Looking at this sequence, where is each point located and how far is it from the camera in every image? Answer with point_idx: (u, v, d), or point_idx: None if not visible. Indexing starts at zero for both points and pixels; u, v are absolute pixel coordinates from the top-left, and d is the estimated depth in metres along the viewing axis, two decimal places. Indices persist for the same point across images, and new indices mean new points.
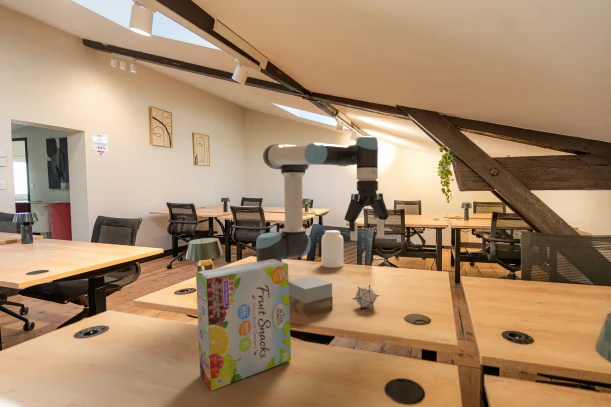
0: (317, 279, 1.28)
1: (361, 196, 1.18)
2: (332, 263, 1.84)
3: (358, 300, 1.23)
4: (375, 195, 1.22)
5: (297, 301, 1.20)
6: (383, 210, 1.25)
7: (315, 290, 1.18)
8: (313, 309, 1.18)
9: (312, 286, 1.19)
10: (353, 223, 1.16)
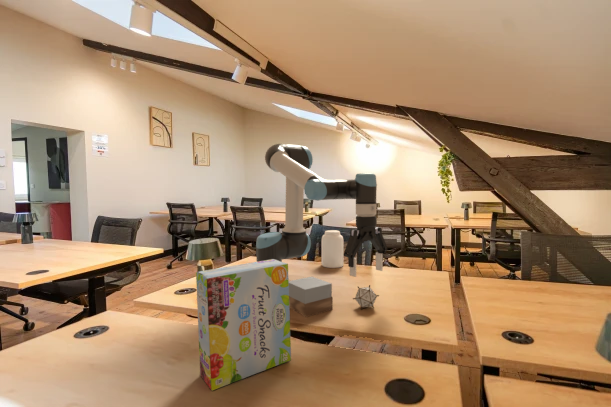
0: (317, 279, 1.27)
1: (360, 232, 1.20)
2: (332, 263, 1.84)
3: (358, 300, 1.23)
4: (374, 230, 1.24)
5: (297, 301, 1.20)
6: (382, 244, 1.27)
7: (315, 290, 1.18)
8: (313, 310, 1.18)
9: (312, 286, 1.19)
10: (352, 259, 1.18)
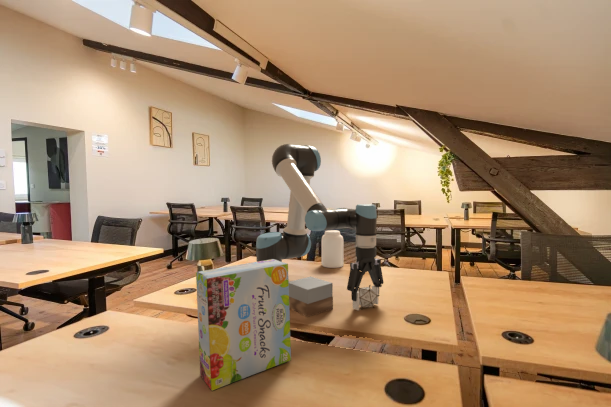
0: (316, 279, 1.28)
1: (360, 263, 1.21)
2: (332, 263, 1.84)
3: None
4: (373, 260, 1.24)
5: (298, 301, 1.20)
6: (379, 276, 1.27)
7: (317, 290, 1.18)
8: (314, 309, 1.18)
9: (314, 286, 1.19)
10: (356, 293, 1.20)
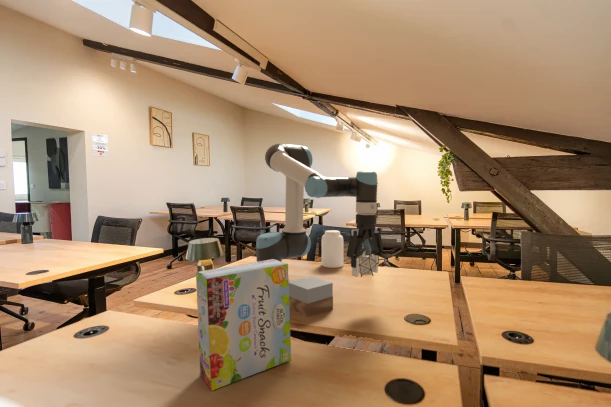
0: (317, 279, 1.28)
1: (360, 230, 1.20)
2: (332, 263, 1.84)
3: None
4: (373, 228, 1.24)
5: (298, 301, 1.20)
6: (378, 245, 1.27)
7: (317, 290, 1.18)
8: (314, 309, 1.18)
9: (314, 286, 1.19)
10: (355, 259, 1.20)
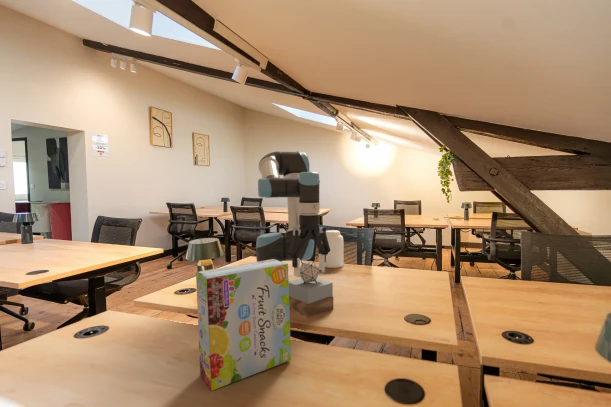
0: (316, 279, 1.28)
1: (302, 231, 1.20)
2: (332, 263, 1.84)
3: (301, 275, 1.22)
4: (317, 229, 1.24)
5: (298, 301, 1.20)
6: (325, 244, 1.27)
7: (317, 290, 1.19)
8: (315, 309, 1.18)
9: (314, 286, 1.19)
10: (296, 259, 1.19)
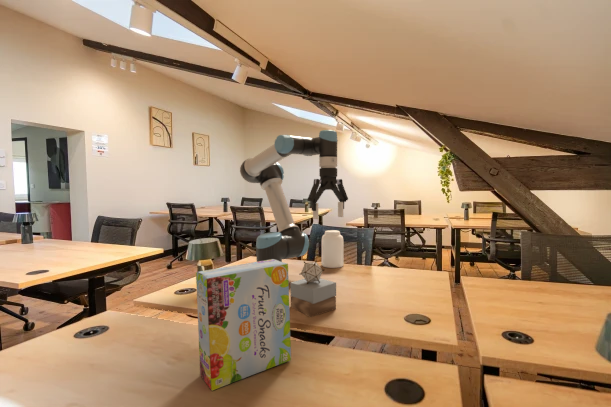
0: (320, 279, 1.28)
1: (322, 181, 1.38)
2: (332, 263, 1.84)
3: (304, 275, 1.23)
4: (335, 180, 1.42)
5: (301, 302, 1.20)
6: (343, 194, 1.46)
7: (322, 289, 1.19)
8: (317, 310, 1.18)
9: (318, 286, 1.19)
10: (315, 204, 1.37)
